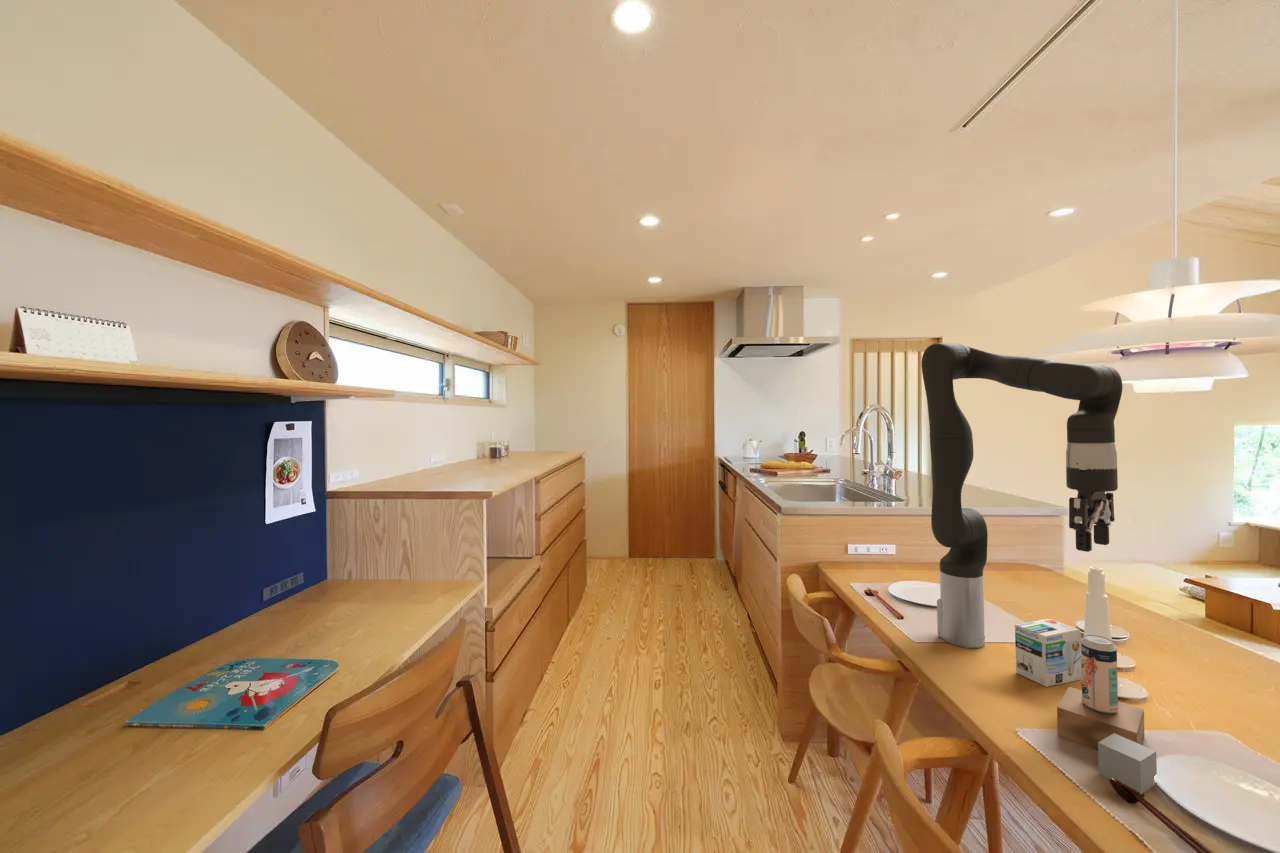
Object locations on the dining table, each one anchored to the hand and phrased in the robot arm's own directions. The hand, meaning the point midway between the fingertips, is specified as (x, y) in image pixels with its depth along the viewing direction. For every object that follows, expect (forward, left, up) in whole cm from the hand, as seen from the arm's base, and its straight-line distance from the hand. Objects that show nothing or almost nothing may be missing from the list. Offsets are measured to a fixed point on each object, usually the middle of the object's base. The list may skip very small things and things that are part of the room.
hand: (1092, 547), depth 98 cm
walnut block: (+5, -14, -30) cm, 34 cm away
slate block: (+11, -24, -30) cm, 40 cm away
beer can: (+5, -14, -25) cm, 29 cm away
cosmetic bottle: (-5, +17, -30) cm, 35 cm away
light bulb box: (-9, +3, -30) cm, 32 cm away
